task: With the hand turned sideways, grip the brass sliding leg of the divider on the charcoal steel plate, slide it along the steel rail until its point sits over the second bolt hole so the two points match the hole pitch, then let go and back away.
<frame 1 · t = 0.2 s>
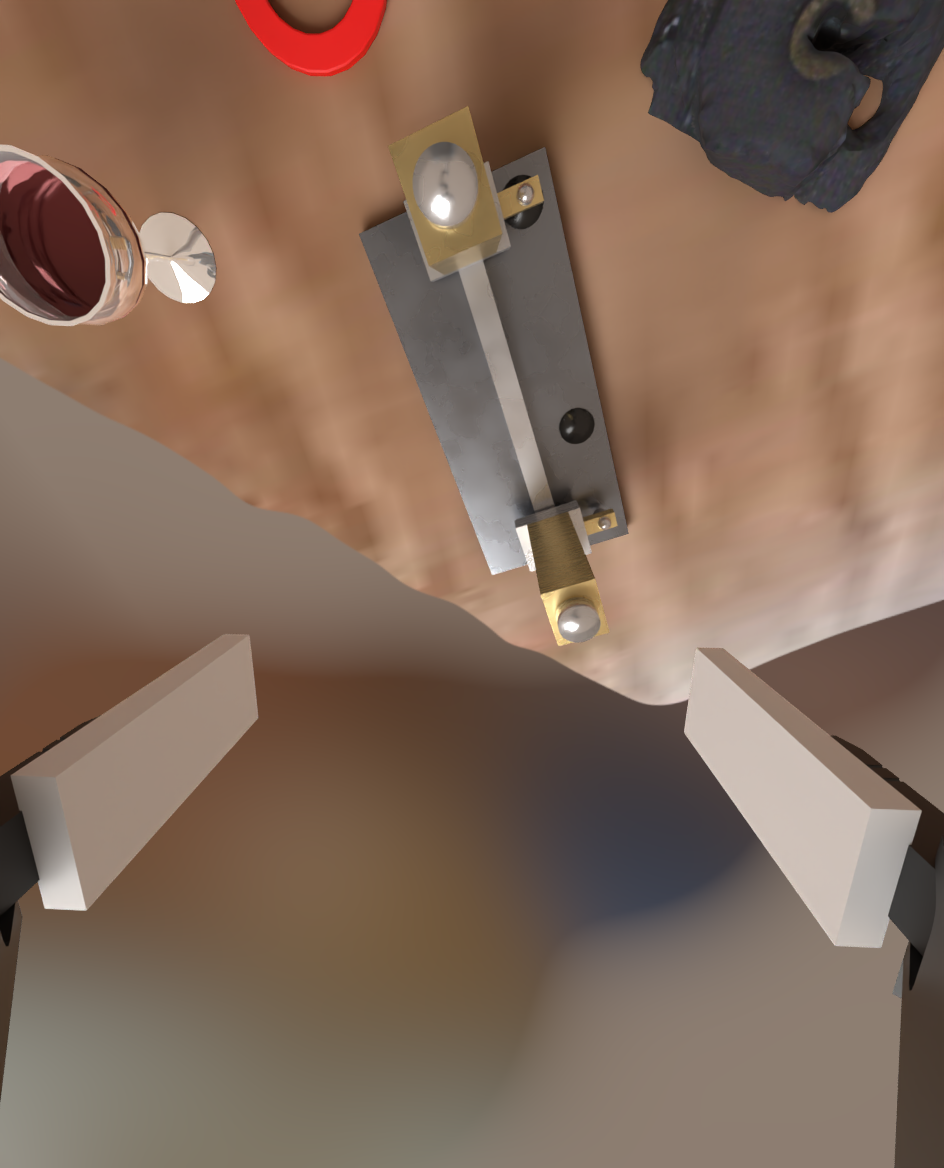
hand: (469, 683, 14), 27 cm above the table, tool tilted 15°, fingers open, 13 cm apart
sliding leg: (580, 565, 33), point 9 cm above the table, slide at 7.0 cm
bolt plate: (512, 402, 36), on the table
wineglass: (178, 259, 32), on the table
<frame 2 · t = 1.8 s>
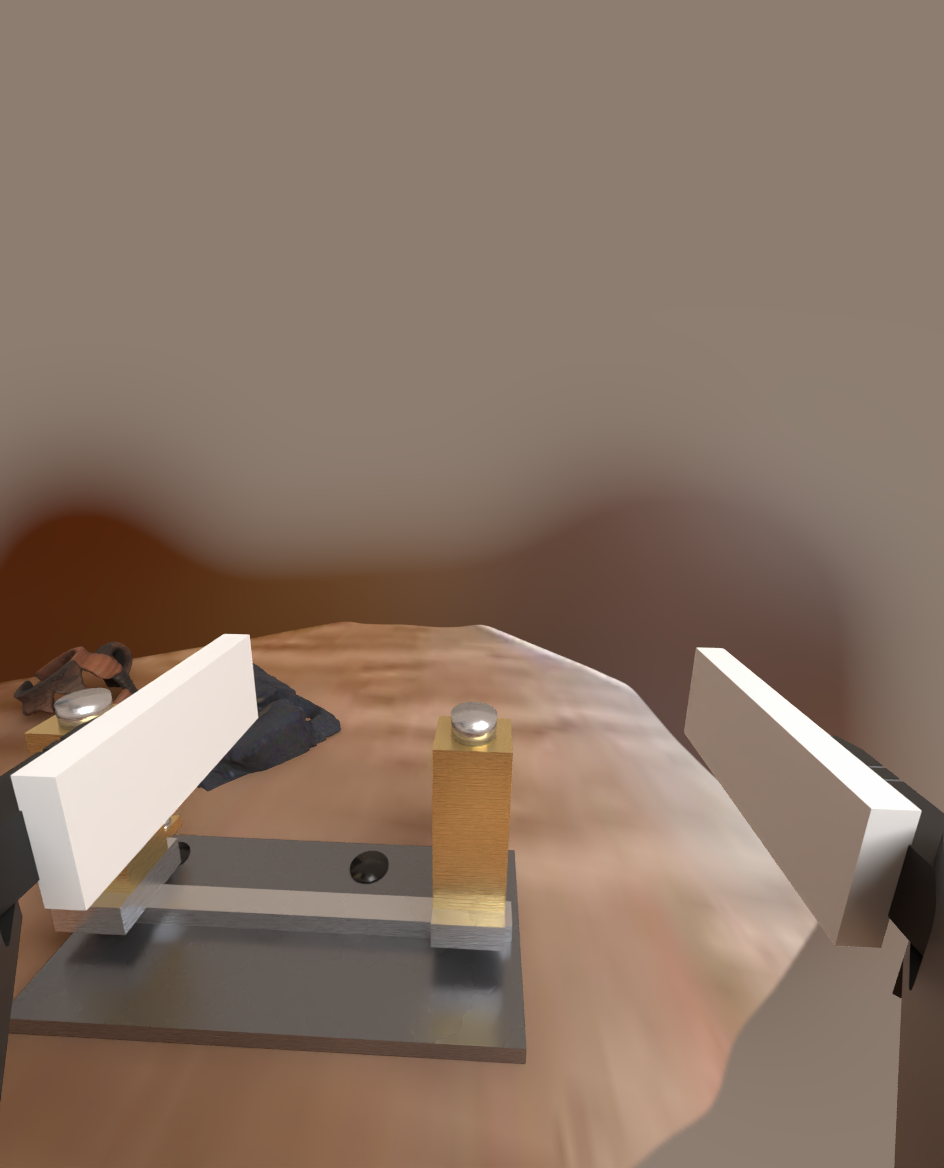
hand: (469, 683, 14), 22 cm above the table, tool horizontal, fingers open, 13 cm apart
sliding leg: (472, 801, 28), point 9 cm above the table, slide at 7.0 cm
dark folded cloth: (237, 725, 53), on the table
brown crumpled piece: (95, 708, 55), on the table
bolt plate: (305, 931, 30), on the table
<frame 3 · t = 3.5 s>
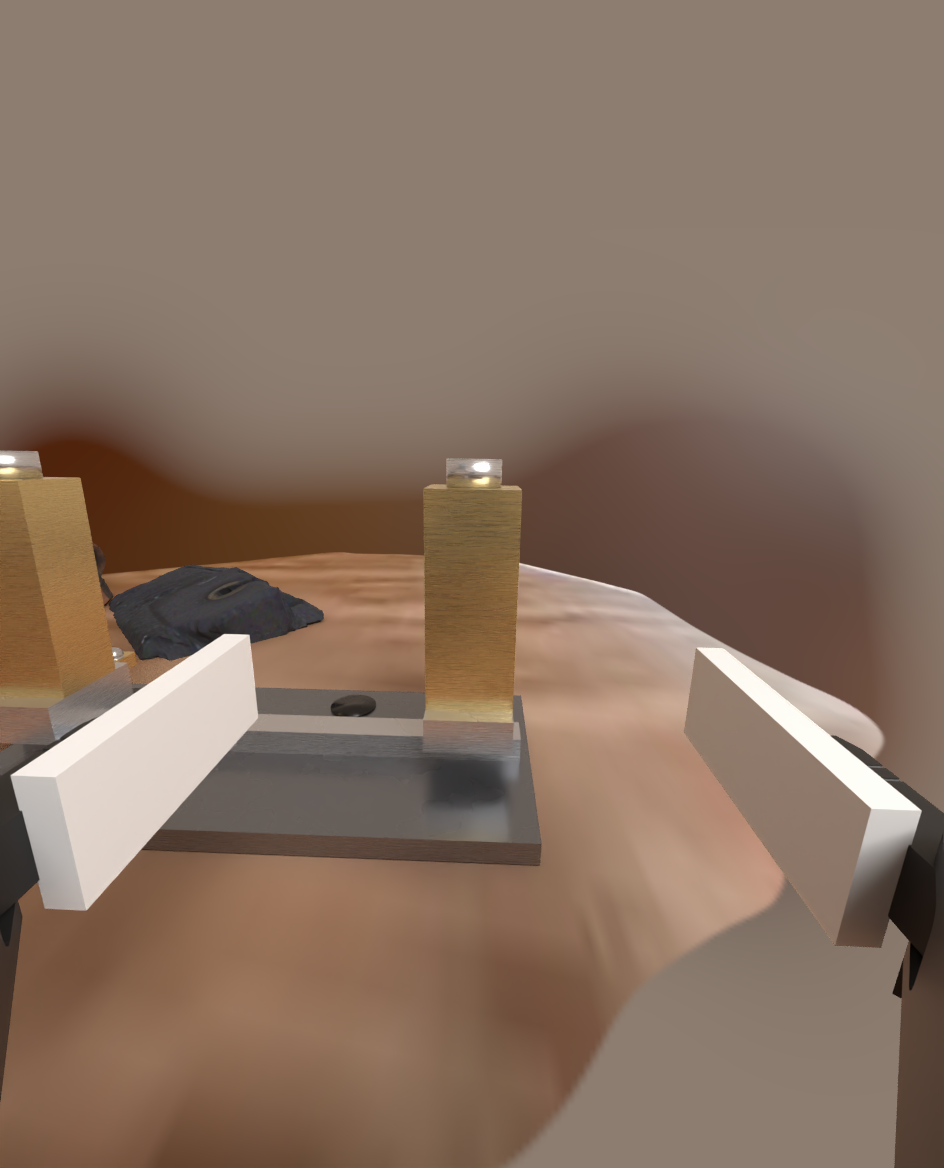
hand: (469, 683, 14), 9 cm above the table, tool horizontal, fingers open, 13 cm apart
sliding leg: (472, 594, 24), point 9 cm above the table, slide at 7.0 cm
dark folded cloth: (212, 619, 48), on the table
brown crumpled piece: (62, 607, 50), on the table
bolt plate: (276, 760, 25), on the table
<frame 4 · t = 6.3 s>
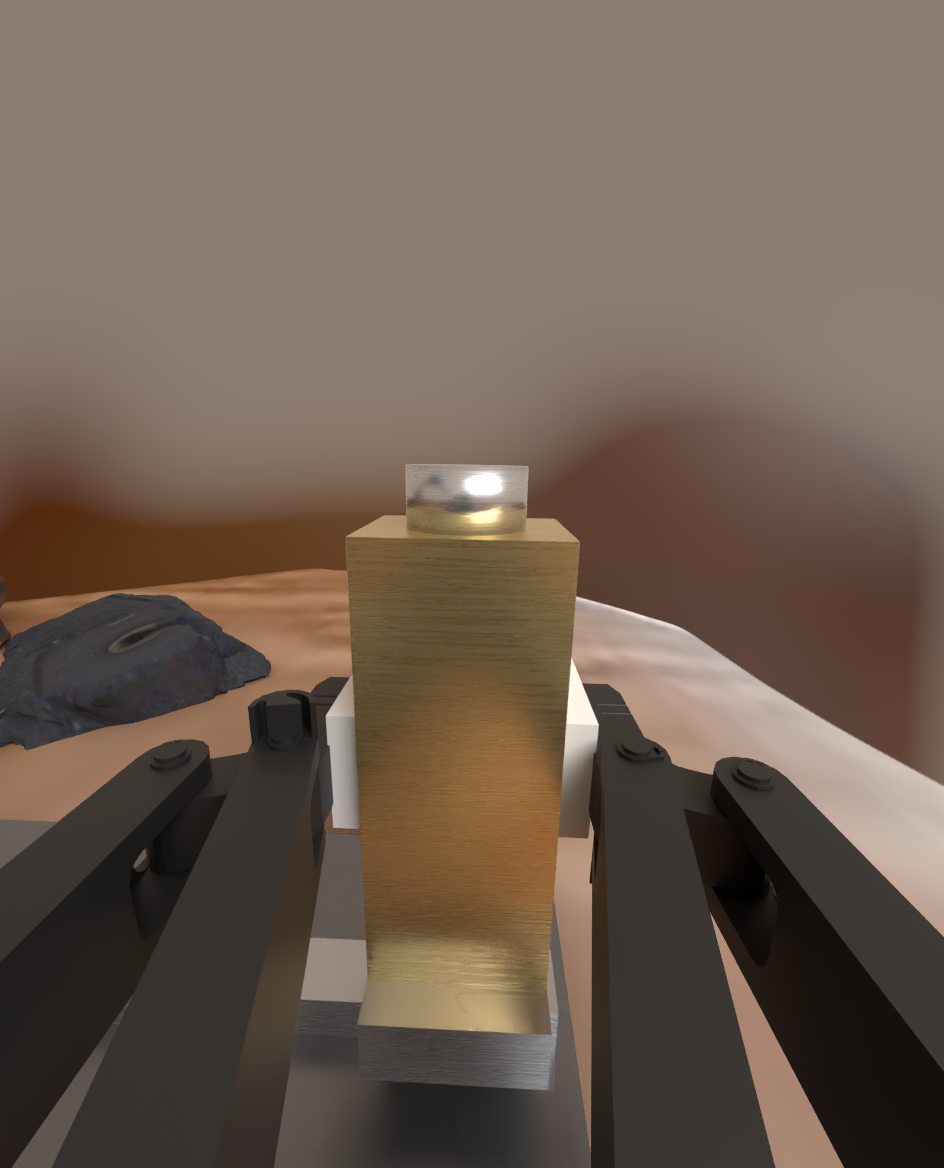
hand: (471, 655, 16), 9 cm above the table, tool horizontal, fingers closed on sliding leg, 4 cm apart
sliding leg: (465, 726, 12), point 9 cm above the table, slide at 7.0 cm, touching gripper
dark folded cloth: (130, 668, 37), on the table
bolt plate: (105, 1016, 14), on the table
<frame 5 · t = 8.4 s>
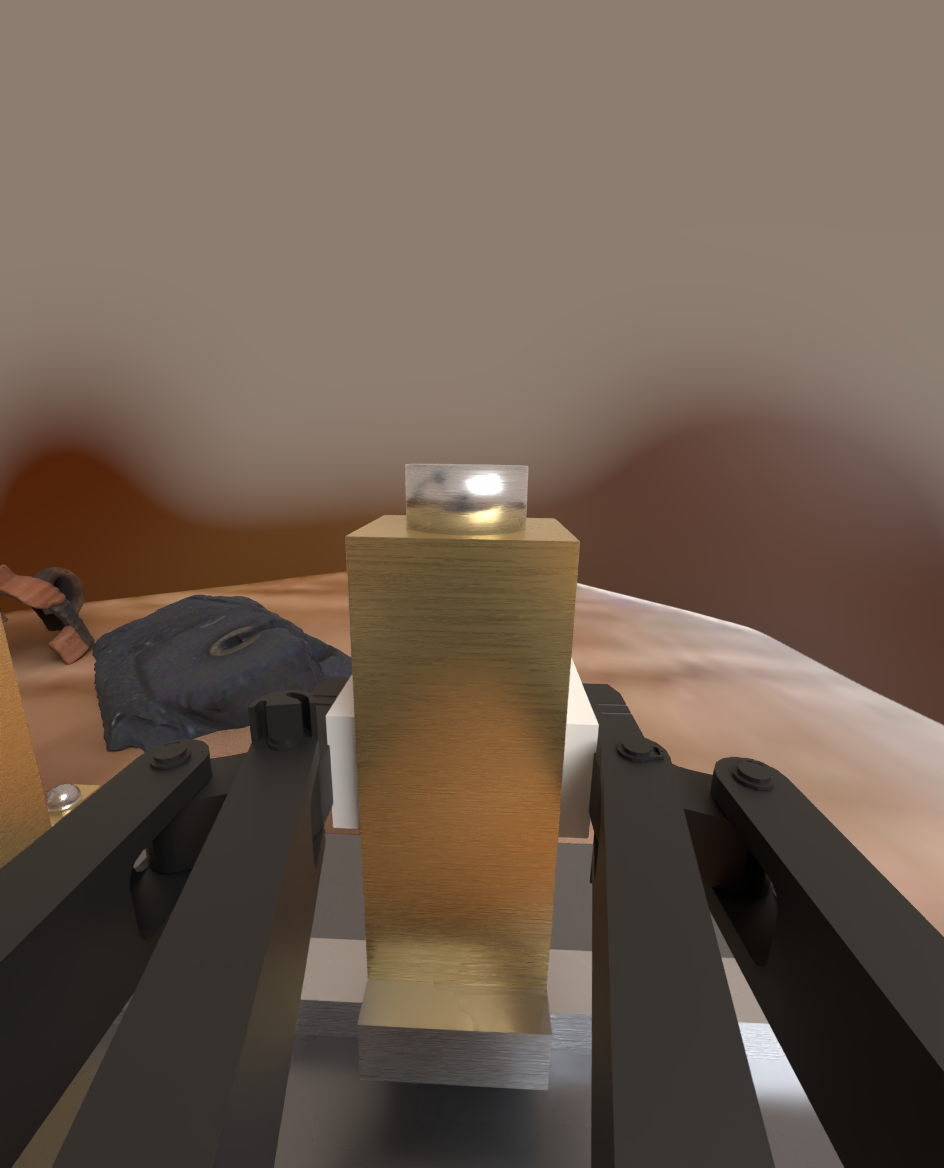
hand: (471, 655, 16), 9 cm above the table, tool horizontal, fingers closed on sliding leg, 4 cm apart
sliding leg: (465, 725, 12), point 9 cm above the table, slide at 0.0 cm, touching gripper
dark folded cloth: (219, 671, 37), on the table
brown crumpled piece: (26, 657, 38), on the table
bolt plate: (351, 1029, 13), on the table
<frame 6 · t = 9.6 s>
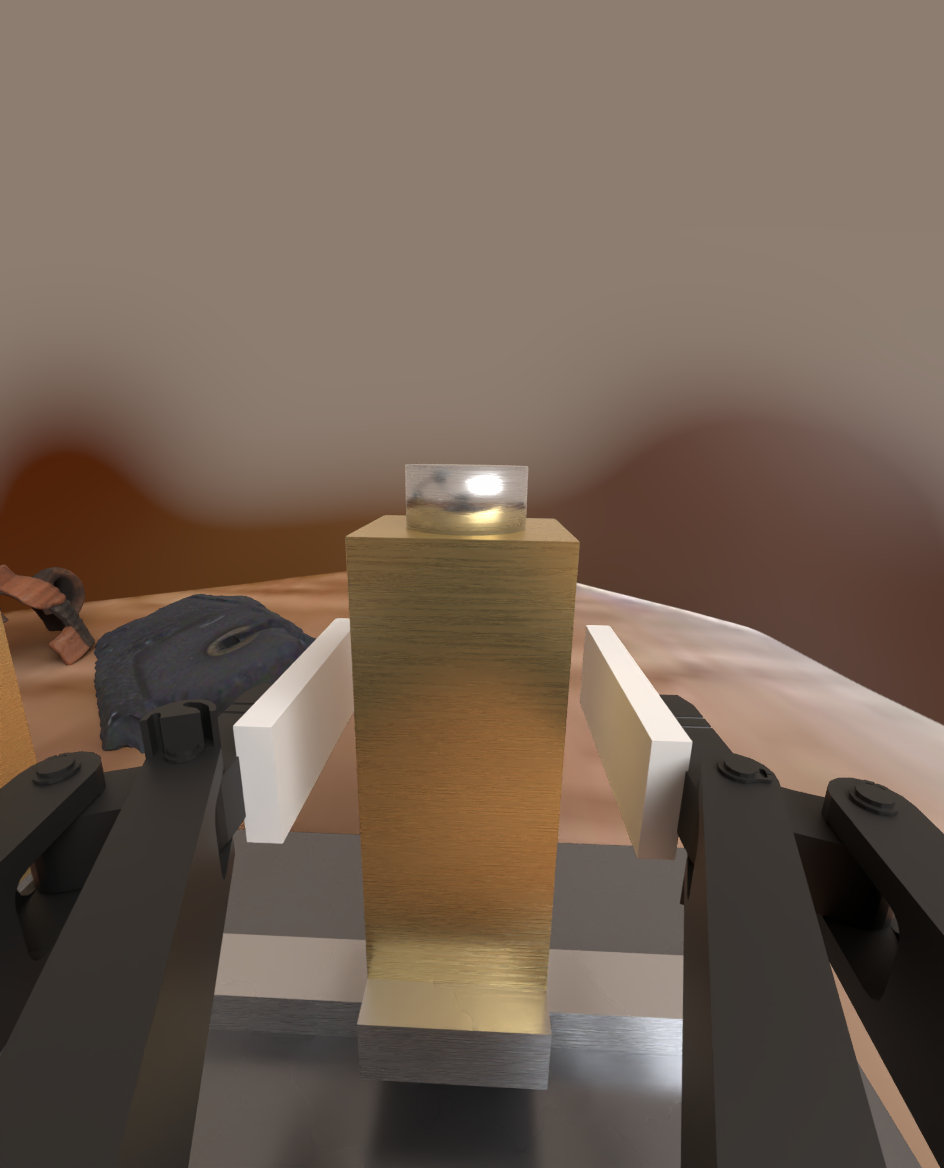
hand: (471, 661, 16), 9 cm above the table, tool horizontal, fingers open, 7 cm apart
sliding leg: (465, 725, 12), point 9 cm above the table, slide at 0.0 cm
dark folded cloth: (218, 670, 37), on the table
brown crumpled piece: (26, 658, 38), on the table
bolt plate: (351, 1029, 13), on the table
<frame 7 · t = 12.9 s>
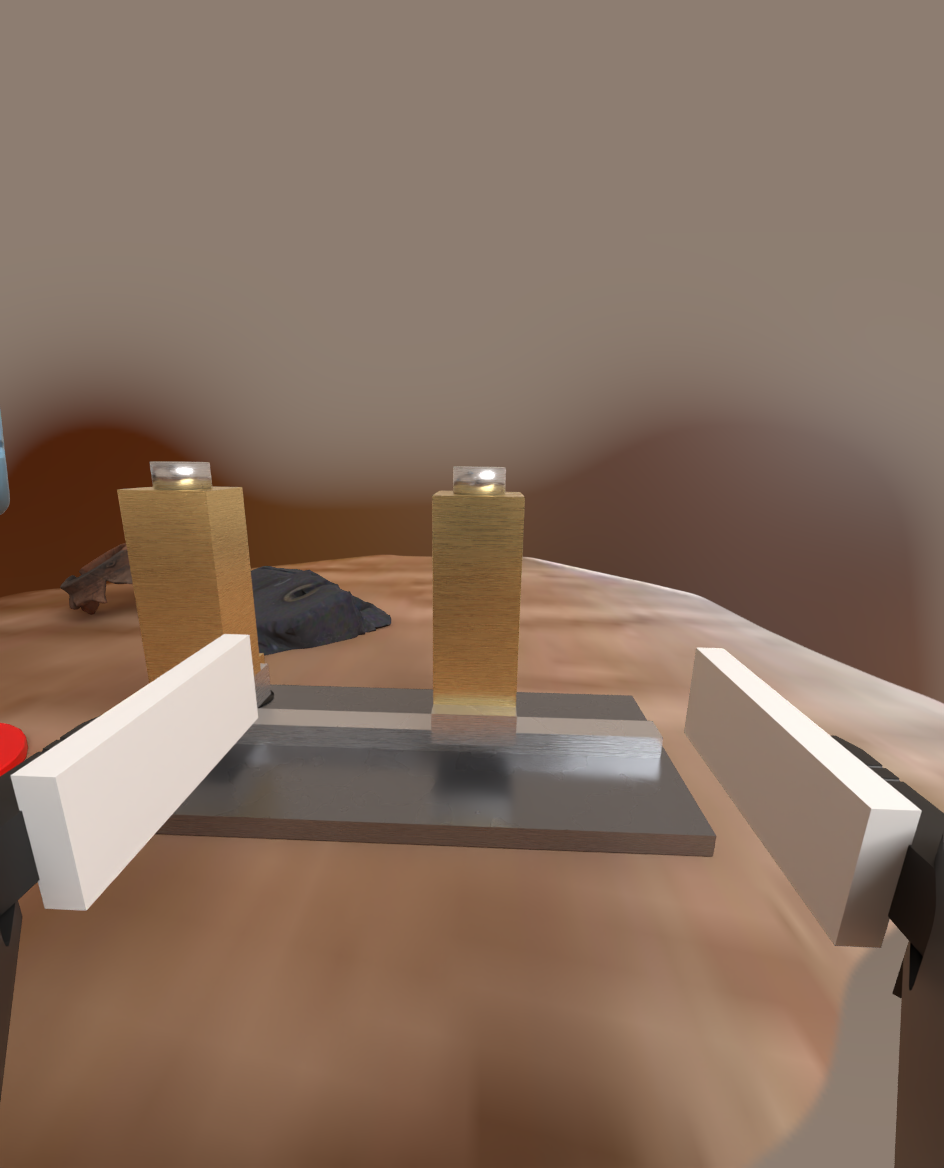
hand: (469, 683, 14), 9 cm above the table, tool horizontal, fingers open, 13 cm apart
sliding leg: (477, 595, 25), point 9 cm above the table, slide at 0.0 cm
dark folded cloth: (285, 619, 50), on the table
brown crumpled piece: (144, 612, 50), on the table
bolt plate: (418, 757, 26), on the table
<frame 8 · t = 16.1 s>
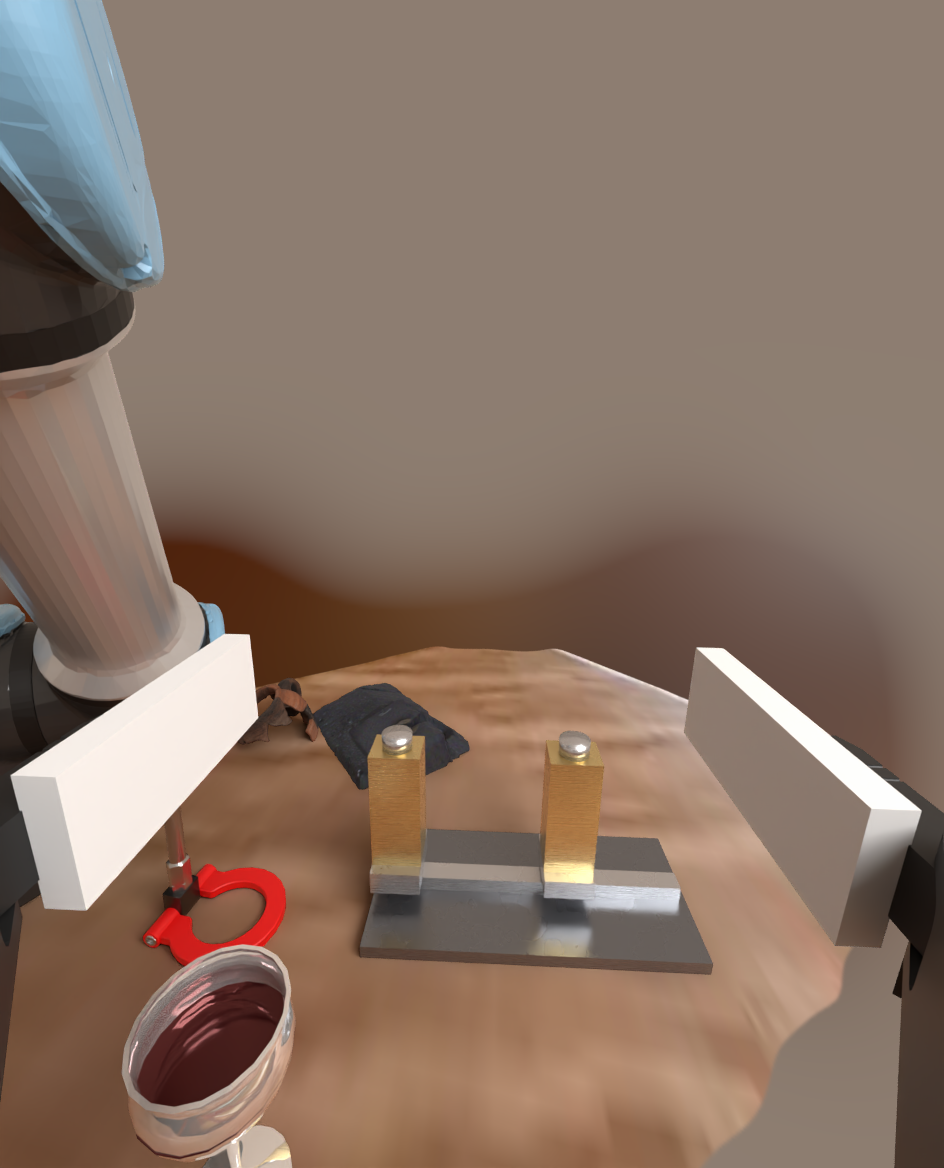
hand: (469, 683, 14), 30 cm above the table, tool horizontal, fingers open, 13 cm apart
sliding leg: (567, 799, 41), point 9 cm above the table, slide at 0.0 cm
dark folded cloth: (385, 738, 66), on the table
tow hook: (226, 920, 39), on the table
brown crumpled piece: (281, 735, 65), on the table
bolt plate: (527, 894, 42), on the table
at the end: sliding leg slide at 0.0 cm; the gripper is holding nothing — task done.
